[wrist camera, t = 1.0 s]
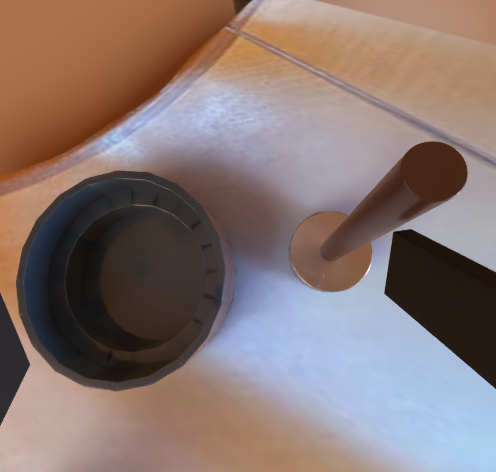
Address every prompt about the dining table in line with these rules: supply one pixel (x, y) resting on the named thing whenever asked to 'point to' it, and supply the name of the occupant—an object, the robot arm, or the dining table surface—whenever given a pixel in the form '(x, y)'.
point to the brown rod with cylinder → (374, 217)
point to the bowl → (124, 280)
